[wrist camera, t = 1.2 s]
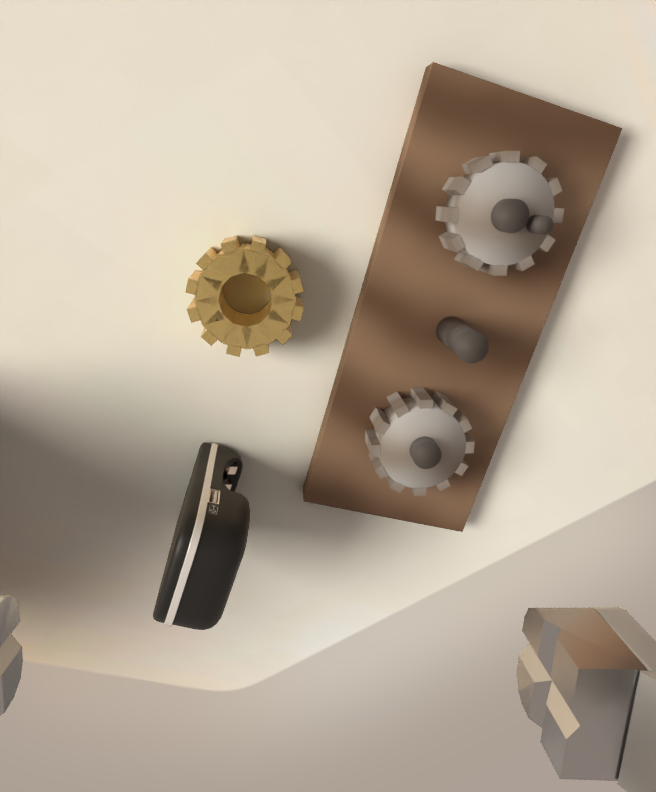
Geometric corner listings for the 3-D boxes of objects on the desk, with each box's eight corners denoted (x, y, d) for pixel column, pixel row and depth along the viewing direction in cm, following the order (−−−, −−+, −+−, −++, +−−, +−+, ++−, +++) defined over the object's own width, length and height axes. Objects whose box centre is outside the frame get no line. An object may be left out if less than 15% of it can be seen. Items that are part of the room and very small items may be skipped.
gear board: (426, 67, 33) (458, 42, 28) (608, 130, 36) (672, 119, 30) (302, 490, 42) (308, 537, 36) (455, 520, 44) (483, 569, 38)
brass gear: (205, 222, 35) (198, 225, 32) (312, 251, 36) (317, 257, 33) (183, 328, 37) (175, 341, 34) (285, 352, 38) (288, 368, 35)
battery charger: (228, 534, 42) (216, 651, 32) (176, 521, 42) (146, 637, 31) (257, 450, 40) (254, 545, 30) (203, 435, 40) (180, 527, 29)
